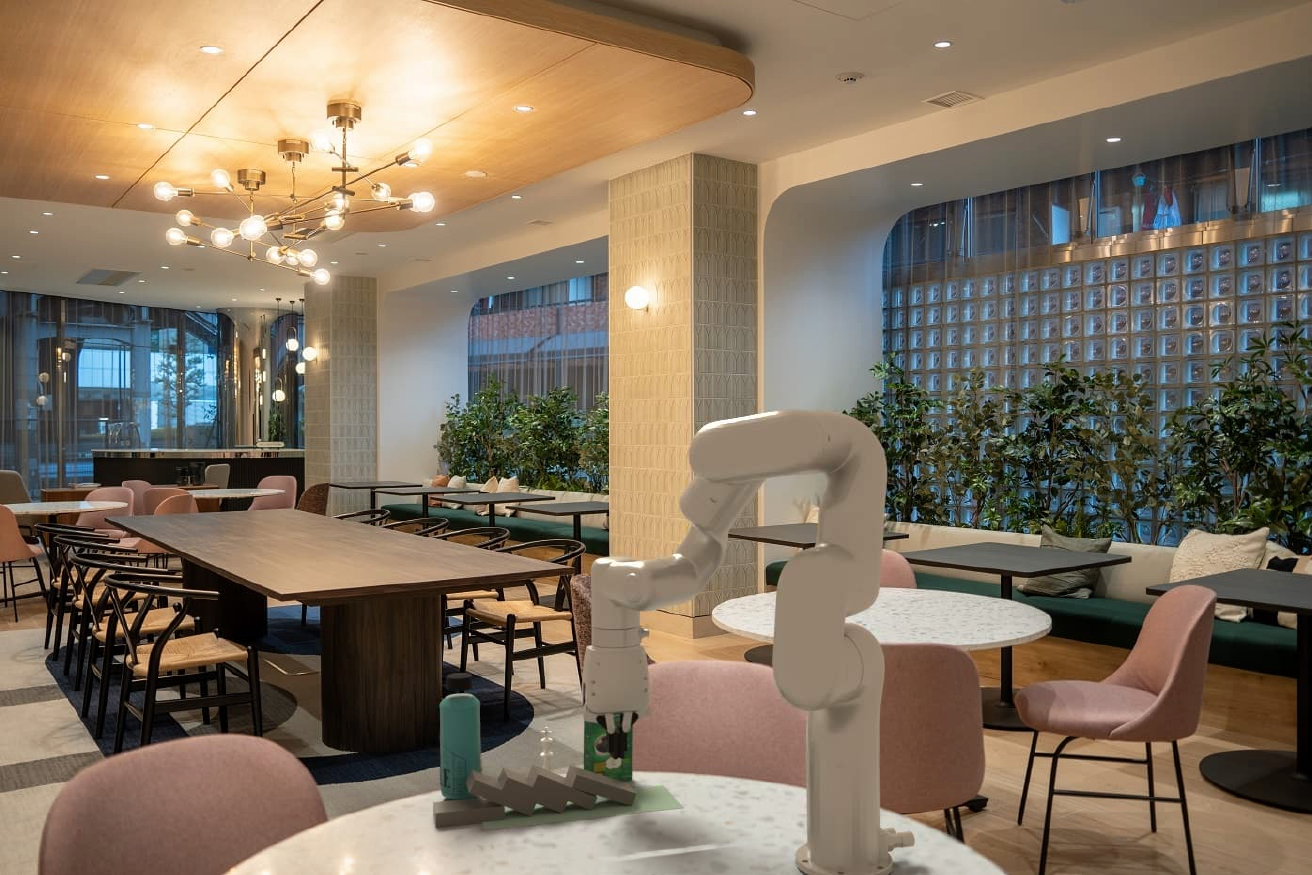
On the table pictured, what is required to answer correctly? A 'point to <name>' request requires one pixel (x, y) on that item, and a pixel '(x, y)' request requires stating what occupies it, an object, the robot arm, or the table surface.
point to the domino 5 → (600, 785)
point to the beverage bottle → (459, 737)
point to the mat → (643, 802)
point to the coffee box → (600, 758)
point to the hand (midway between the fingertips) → (617, 756)
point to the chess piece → (546, 749)
